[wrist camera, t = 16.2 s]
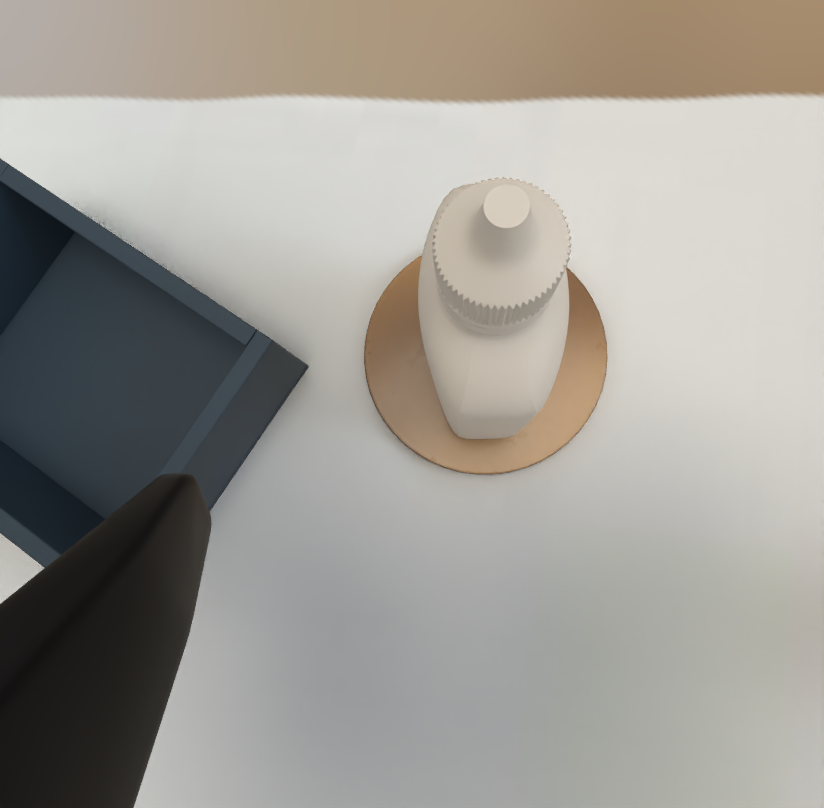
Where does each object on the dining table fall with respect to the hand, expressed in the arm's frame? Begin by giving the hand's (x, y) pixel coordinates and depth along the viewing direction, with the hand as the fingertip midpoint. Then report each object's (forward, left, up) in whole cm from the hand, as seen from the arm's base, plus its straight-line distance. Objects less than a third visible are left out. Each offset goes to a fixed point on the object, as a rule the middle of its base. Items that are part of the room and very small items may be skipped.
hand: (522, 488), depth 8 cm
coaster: (+3, -4, -13) cm, 14 cm away
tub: (+13, +5, -13) cm, 19 cm away
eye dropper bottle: (+2, -3, -13) cm, 13 cm away
